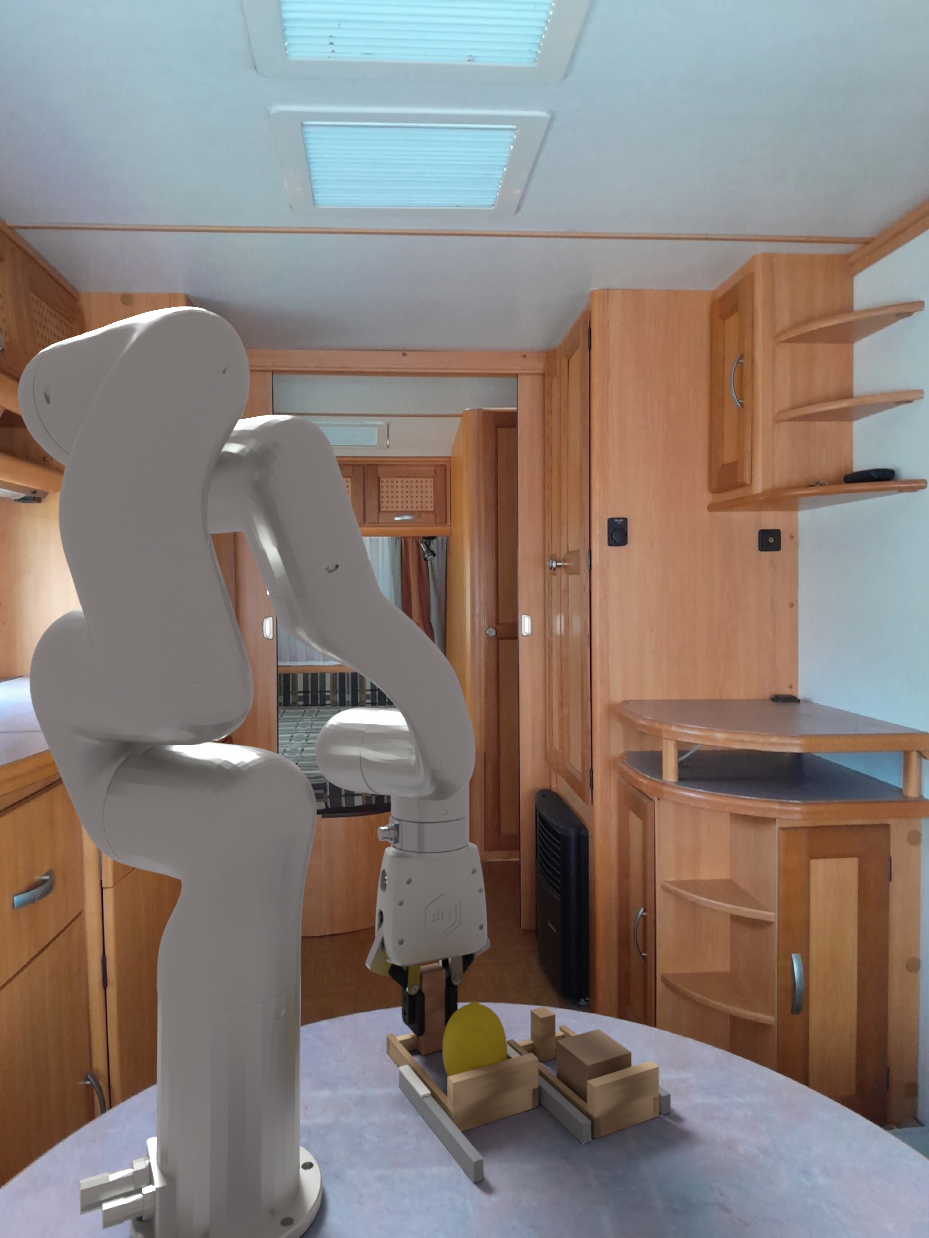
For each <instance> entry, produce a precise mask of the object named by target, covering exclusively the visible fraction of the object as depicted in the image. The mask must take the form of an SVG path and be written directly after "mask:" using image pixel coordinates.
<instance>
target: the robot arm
mask: <svg viewBox="0 0 929 1238" xmlns="http://www.w3.org/2000/svg"><path fill="white" fill-rule="evenodd" d="M243 343H244V342H243V341H242V339H241V337H240V335H239V334H238V333H237V331H236V330H235V327H233V325H232V324H230V322H228V321H227V320H226V318H224V317H223V316H221V315H220V314H217V313H215V312H213V311H211V310H207V309H204V308H199V307H194V306H193V307H192V306H178V307H171V308H163V309H158V310H153V311H149V312H144V313H141V314H138V315H135V316H132V317H129V318H126V319H123V320H119V321H116V322H113V323H112V324H111V323H110V324H108V325H106V326H104V327H101V328H98V329H95V330H92V331H89V332H85V333H83V334H81V335H77V336H74V337H70V338H67V339H65V340H62V341H59V342H56V343H54V344H51V345H50V346H49V345H48V347H45V348H44V349H42V350H41V351H39V352H37V353H36V355H35V356H33V358H32V359H30V361H29V362H28V363H27V364H26V365H25V368H24V370H23V371H22V374H21V376H20V379H19V383H18V388H17V403H18V407H19V412H20V415H21V417H22V420H23V422H24V425H25V426H26V429H27V430H28V432H29V434H30V435H31V437H32V438H33V439H34V441H36V443H37V444H38V445H39V446H40V447H41V449H43V450H44V451H45V452H46V453H47V454H48V455H49V456H51V457H52V459H54V460H56V461H57V463H60V464H62V465H63V466H64V467H65V468H64V472H63V477H62V480H61V485H60V492H59V499H58V500H59V501H58V529H59V536H60V541H61V546H62V549H63V554H64V557H65V560H66V561H65V562H66V564H67V567H68V570H69V572H70V576H71V578H72V582H73V585H74V588H75V592H76V595H77V598H78V601H79V605H80V607H78V608H75V609H72V610H70V611H68V612H66V613H65V614H63V615H61V616H60V617H58V618H57V619H55V620H54V621H52V623H51V624H50V625H49V627H48V628H47V629H46V630H45V631H44V632H43V634H41V636H40V638H39V639H38V641H37V644H36V646H35V649H34V652H33V654H32V658H31V663H30V666H29V667H30V668H29V693H30V694H29V695H30V698H31V705H32V708H33V713H34V715H35V717H36V721H37V722H38V726H39V727H40V730H41V732H42V735H43V738H44V740H45V742H46V745H47V747H48V750H49V752H50V755H51V757H52V759H53V761H54V763H55V766H56V767H57V770H58V772H59V776H60V777H61V780H62V782H63V785H64V786H65V789H66V791H67V794H68V796H69V799H70V801H71V803H72V805H73V807H74V810H75V812H76V815H77V816H78V819H79V821H80V823H81V825H82V827H83V829H84V830H85V832H86V834H87V836H88V837H89V838H90V840H91V841H92V843H93V844H94V845H95V846H96V847H97V848H98V850H99V851H101V852H102V853H103V854H104V855H105V856H106V857H108V858H110V859H112V861H113V860H114V861H115V862H117V863H120V864H121V865H125V866H128V867H133V868H136V869H139V870H143V871H148V872H152V873H155V874H160V875H164V876H168V877H171V878H173V879H178V880H180V881H181V889H180V893H179V896H178V900H177V902H176V905H175V906H174V909H173V911H172V912H171V915H170V917H169V919H168V921H167V923H166V925H165V927H164V930H163V934H162V936H161V939H160V943H159V947H158V955H157V967H156V968H157V969H156V990H157V991H156V992H157V1025H156V1026H157V1028H156V1031H157V1032H156V1034H157V1035H156V1036H157V1037H156V1038H157V1039H156V1040H157V1041H156V1042H157V1043H156V1044H157V1046H156V1047H157V1048H156V1049H157V1050H156V1056H157V1057H156V1136H154V1137H150V1138H148V1139H146V1156H143V1157H141V1158H140V1157H139V1158H137V1159H134V1160H131V1166H129V1167H126V1168H123V1169H119V1170H116V1171H113V1172H109V1171H107V1172H103V1173H100V1174H97V1175H93V1176H90V1177H85V1178H83V1179H80V1180H79V1214H80V1216H82V1215H85V1214H89V1213H92V1212H95V1211H99V1210H101V1224H102V1225H101V1227H102V1230H105V1229H109V1228H112V1227H115V1226H118V1225H121V1224H125V1222H127V1221H129V1234H130V1238H300V1237H301V1236H303V1235H304V1234H305V1233H306V1231H307V1230H308V1229H309V1228H310V1225H311V1224H312V1223H313V1221H315V1219H316V1216H317V1214H318V1211H319V1210H320V1208H321V1203H322V1196H323V1175H322V1171H321V1167H320V1165H319V1162H317V1159H316V1158H315V1156H314V1155H313V1154H311V1152H309V1150H308V1149H306V1148H305V1147H304V1146H301V1025H302V1024H301V1023H302V1022H301V1019H302V1018H301V1017H302V1015H301V1012H302V1011H301V1010H302V1009H301V1007H302V1006H301V1005H302V1004H301V1002H302V1001H301V999H302V998H301V997H302V996H301V995H302V994H301V993H302V992H301V991H302V989H301V986H302V983H301V982H302V981H301V980H302V975H301V974H302V973H301V972H302V971H301V967H302V966H301V961H302V959H301V957H302V956H301V955H302V954H301V952H302V951H301V949H302V947H301V946H302V918H303V917H302V916H303V903H304V902H303V901H304V895H305V885H306V878H307V873H308V868H309V864H310V858H311V852H312V850H313V849H312V848H313V845H314V844H313V843H314V839H315V834H316V833H315V832H316V829H317V828H316V826H317V815H318V814H317V801H316V795H315V792H314V789H313V786H312V784H311V782H310V780H309V777H307V775H306V774H305V772H304V771H303V770H302V769H301V768H300V767H299V766H298V765H297V764H296V763H294V762H293V761H292V760H290V759H288V758H287V757H286V756H283V755H282V754H279V753H276V752H273V751H271V750H268V749H266V748H260V747H256V746H251V745H249V746H248V745H241V744H231V743H230V744H229V743H222V742H221V743H220V742H215V741H219V740H222V739H224V738H226V737H227V736H229V735H231V733H233V732H235V731H236V730H237V729H238V728H240V727H241V726H242V724H243V723H244V722H245V720H246V719H247V716H248V715H249V712H250V711H251V709H252V705H253V700H254V693H255V692H254V690H255V689H254V678H253V673H252V666H251V663H250V659H249V655H248V652H247V649H246V648H247V647H246V645H245V641H244V640H243V636H242V632H241V629H240V626H239V623H238V620H237V617H236V613H235V611H234V608H233V605H232V601H231V598H230V595H229V593H228V589H227V586H226V583H225V579H224V576H223V574H222V570H221V567H220V564H219V560H218V557H217V553H216V549H215V546H214V543H213V538H212V535H215V534H225V533H235V532H236V533H238V532H242V533H243V535H244V537H245V539H246V543H247V545H248V547H249V549H250V552H251V554H252V556H253V560H254V562H255V565H256V566H257V569H258V572H259V574H260V576H261V579H262V582H263V585H264V587H265V590H266V592H267V595H268V597H269V600H270V602H271V605H272V608H273V610H274V613H275V616H276V619H277V621H278V624H279V625H280V627H281V628H282V630H283V631H284V632H285V633H287V635H288V636H289V637H291V638H293V639H294V640H296V641H297V642H299V643H300V644H303V645H304V646H306V647H308V648H310V649H311V650H313V651H316V652H317V653H318V654H320V655H323V656H325V657H327V658H328V659H330V660H333V661H334V662H337V663H340V664H341V665H343V666H345V667H347V668H349V669H351V670H352V671H354V672H357V673H358V674H360V675H361V676H363V678H366V680H368V681H370V682H371V683H372V684H373V685H375V686H376V687H377V688H379V689H380V691H382V692H383V694H384V695H386V696H387V697H388V699H390V701H391V702H392V703H393V704H394V706H395V707H396V708H392V707H391V708H390V707H387V708H379V707H377V708H376V707H354V708H353V707H352V708H348V709H344V710H342V711H340V712H338V713H336V714H334V715H333V716H332V717H330V718H329V719H328V720H327V721H326V723H325V724H324V725H323V726H322V728H321V729H320V731H319V733H318V735H317V738H316V742H315V745H314V756H315V762H316V765H317V768H318V769H319V771H320V773H321V774H322V775H323V777H324V778H325V779H326V780H327V781H328V782H330V783H331V784H333V785H334V786H335V787H338V788H340V789H343V790H346V791H351V792H356V793H364V794H370V795H371V794H373V795H377V796H380V795H382V796H390V799H391V801H390V815H389V816H388V824H387V823H386V824H385V825H384V826H378V828H377V830H376V831H377V832H376V833H377V838H378V841H379V842H384V841H386V842H388V843H389V844H390V846H388V847H386V848H384V853H383V857H382V862H381V868H380V873H379V879H378V886H377V887H378V888H377V894H376V895H377V897H376V909H375V927H374V929H375V932H374V933H375V935H374V936H375V938H374V940H373V943H372V945H371V948H370V949H369V950H370V951H369V953H368V955H367V958H366V960H365V967H367V968H368V969H369V970H370V972H372V973H373V974H374V973H375V974H378V975H381V976H385V977H387V978H391V979H392V980H393V981H394V982H396V983H397V984H398V985H399V986H401V1019H402V1022H403V1024H404V1025H406V1027H408V1029H409V1030H410V1031H411V1033H414V1034H415V1035H416V1036H417V1037H419V1036H423V1034H424V1033H425V995H424V993H423V992H422V991H421V990H420V968H421V966H422V965H421V964H426V963H427V964H428V963H434V962H436V961H438V964H439V965H441V966H442V967H443V968H444V969H445V1027H446V1026H447V1023H448V1021H449V1019H450V1018H451V1016H452V1015H453V1014H454V1013H455V1012H456V1011H457V1010H458V1009H459V1007H458V1005H459V1004H458V1003H459V1001H458V1000H459V997H458V995H459V993H458V992H459V989H458V987H459V986H460V985H461V984H462V982H463V981H464V974H465V973H466V972H467V970H468V968H469V967H470V966H471V964H472V963H473V962H474V960H475V958H478V957H479V956H481V955H483V953H485V952H486V951H488V950H489V949H490V948H491V940H490V938H489V936H488V921H487V920H488V919H487V918H488V916H487V901H486V892H485V891H486V890H485V882H484V874H483V869H482V864H481V863H482V862H481V858H480V853H479V849H478V845H477V844H475V843H472V842H470V780H471V778H472V776H473V773H474V770H475V765H476V740H475V734H474V728H473V725H472V720H471V717H470V714H469V710H468V707H467V704H466V699H465V696H464V692H463V689H462V686H461V684H460V680H459V678H458V676H457V674H456V671H455V670H454V668H453V666H452V665H451V663H450V661H449V660H448V658H447V657H446V655H444V653H443V652H442V651H441V649H440V648H439V646H437V645H436V643H435V642H433V640H431V638H430V637H429V636H428V635H427V634H426V632H425V631H423V629H421V628H420V627H419V625H417V623H416V622H414V621H413V620H412V619H411V618H410V617H409V616H408V615H407V614H406V613H405V612H404V611H403V610H402V609H401V608H399V607H398V606H397V605H395V604H394V603H393V602H391V600H389V598H387V597H386V596H385V594H384V593H383V591H382V589H381V588H380V585H379V583H378V581H377V579H376V575H375V570H374V569H373V566H372V562H371V559H370V556H369V554H368V550H367V547H366V545H365V542H364V539H363V538H364V537H363V535H362V532H361V529H360V526H359V523H358V520H357V517H356V513H355V511H354V509H353V508H354V507H353V506H352V502H351V499H350V496H349V493H348V490H347V487H346V484H345V481H344V478H343V475H342V472H341V468H340V466H339V463H338V460H337V458H336V457H337V456H336V454H335V451H334V448H333V446H332V444H331V442H330V440H329V439H328V437H327V435H326V434H325V432H324V431H323V430H322V428H320V426H318V425H317V424H315V423H314V422H312V421H310V420H308V419H306V418H304V417H301V416H296V415H290V414H289V415H288V414H280V415H279V414H273V415H272V414H270V415H261V416H256V417H251V418H246V419H245V418H244V419H241V418H242V417H243V414H244V411H245V409H246V405H247V403H248V398H249V394H250V386H251V373H250V372H251V371H250V366H249V365H250V362H249V360H248V356H247V355H248V354H247V350H246V348H245V345H244V344H243ZM387 958H388V959H387Z"/></svg>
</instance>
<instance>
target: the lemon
mask: <svg viewBox="0 0 929 1238" xmlns="http://www.w3.org/2000/svg"><path fill="white" fill-rule="evenodd" d="M504 1028H505V1027H504V1025H503V1023H502V1021H501V1019H500V1017H499V1016H498V1015H497V1014H496V1013H495V1011H494V1010H492V1009H491V1008H490V1007H489V1006H487V1005H484V1004H483V1003H480V1002H478V1001H477V1000H472V1001H470V1002H469V1003H467V1004H465V1005H462V1006H461V1007H458V1010H457V1011H456V1012H455V1013H454V1014H453V1015H452V1016H451V1018H450V1019H449V1021H448V1023H447V1026H446V1029H445V1033H444V1037H443V1048H442V1049H443V1050H442V1062H443V1067H444V1070H445V1073H446V1075H447V1077H449V1076H452V1075H456V1074H459V1073H463V1072H466V1071H470V1070H473V1069H477V1068H480V1067H484V1066H487V1065H491V1064H494V1063H498V1062H501V1061H505V1060H506V1058H507V1037H506V1036H507V1035H506V1033H505V1029H504Z"/></svg>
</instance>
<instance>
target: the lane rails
mask: <svg viewBox="0 0 929 1238" xmlns="http://www.w3.org/2000/svg"><path fill="white" fill-rule="evenodd" d="M519 1056H520V1055H519V1054H518V1053H517V1052H516V1051H515V1050H514V1049H512V1048H511V1047H510V1046H509V1045H508V1044H507V1059H512V1058H515V1057H519ZM398 1087H399V1089H400V1091H402V1093H404V1095H405V1096H406V1098H407V1099H408V1100H409V1102H410V1103H411V1104H412V1106H413V1107H414V1109H416V1111H417V1112H418V1113H419V1114H420V1116H421V1117H422V1119H423V1120H424V1121H425V1122H426V1124H427V1125H428V1126H429V1128H431V1130H432V1131H433V1133H434V1134H435V1135H436V1137H437V1138H438V1139H439V1140H440V1141H441V1143H442V1145H444V1147H445V1148H446V1150H448V1152H449V1154H450V1155H452V1157H453V1159H455V1161H456V1162H457V1163H458V1166H460V1168H461V1169H462V1170H463V1171H464V1173H465V1174H466V1176H467V1177H468V1178H469V1180H471V1182H472V1183H473V1184H475V1183H477V1182H480V1181H483V1180H484V1157H482V1155H481V1154H480V1153H479V1152H478V1150H477V1149H476V1148H475V1147H474V1146H473V1144H472V1143H471V1141H470V1140H469V1139H468V1138H467V1137H466V1136H465V1134H463V1133H462V1132H463V1131H462V1132H461V1131H460V1130H459V1129H458V1127H457V1126H456V1125H455V1124H454V1123H453V1121H452V1120H451V1119H450V1118H449V1117H448V1115H447V1114H446V1113H445V1112H444V1111H443V1109H442V1108H441V1107H440V1106H439V1105H438V1103H437V1102H436V1101H435V1100H434V1098H433V1097H432V1096H431V1092H430V1091H429V1090H428V1088H427V1087H426V1086H425V1085H424V1084H423V1083H422V1081H421V1080H420V1079H419V1078H418V1077H417V1075H416V1074H415V1073H414V1072H413V1071H412V1069H411V1068H410V1067H409V1066H408V1065H405V1066H401V1067H398ZM538 1104H540V1105H541V1106H542V1107H544V1109H546V1110H547V1111H548V1112H549V1114H550V1115H552V1116H553V1117H554V1118H555V1119H556V1120H557V1121H558V1122H559V1123H560V1124H561V1125H562V1126H564V1128H566V1130H567V1131H568V1132H569V1133H570V1134H572V1135H573V1137H575V1139H577V1140H578V1141H579V1142H580V1143H581V1144H586V1143H588V1142H589V1143H590V1142H591V1141H592V1136H591V1121H590V1120H589V1119H588V1118H587V1117H586V1116H584V1115H583V1114H582V1113H581V1112H580V1111H579V1110H578V1109H577V1108H576V1107H574V1106H573V1105H572V1104H571V1103H570V1102H569V1101H568V1100H567V1099H566V1098H564V1097H563V1096H562V1095H561V1094H560V1093H559V1092H558V1091H557V1090H555V1089H554V1088H553V1087H552V1086H551V1085H550V1084H549V1083H548V1082H547V1081H545V1080H544V1079H543V1078H542V1077H541V1076H540V1075H539V1074H538Z"/></svg>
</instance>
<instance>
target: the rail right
mask: <svg viewBox="0 0 929 1238" xmlns="http://www.w3.org/2000/svg"><path fill="white" fill-rule="evenodd" d="M633 1066H634V1065H632V1064H631V1067H633ZM671 1103H672V1102H671V1092H669V1091H667V1090H666V1089H665V1088H663V1087H662V1086H660V1085H659V1114H662V1116H664V1115H667V1114H670V1113H672V1112H671V1110H672V1109H671Z"/></svg>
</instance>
